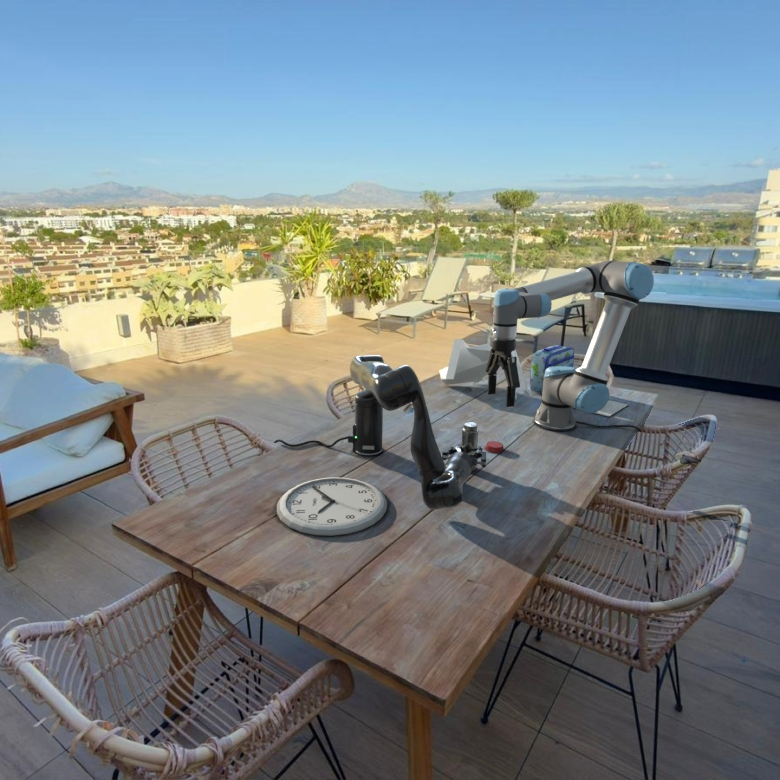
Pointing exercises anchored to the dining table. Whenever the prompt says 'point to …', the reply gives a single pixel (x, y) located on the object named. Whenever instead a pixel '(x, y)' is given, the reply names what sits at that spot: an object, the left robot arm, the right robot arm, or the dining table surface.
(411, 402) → the fork
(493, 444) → the lid
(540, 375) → the lunch box
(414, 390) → the left robot arm
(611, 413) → the invitation card
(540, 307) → the right robot arm
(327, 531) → the wall clock
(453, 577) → the dining table surface
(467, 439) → the bottle
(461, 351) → the white plastic object
